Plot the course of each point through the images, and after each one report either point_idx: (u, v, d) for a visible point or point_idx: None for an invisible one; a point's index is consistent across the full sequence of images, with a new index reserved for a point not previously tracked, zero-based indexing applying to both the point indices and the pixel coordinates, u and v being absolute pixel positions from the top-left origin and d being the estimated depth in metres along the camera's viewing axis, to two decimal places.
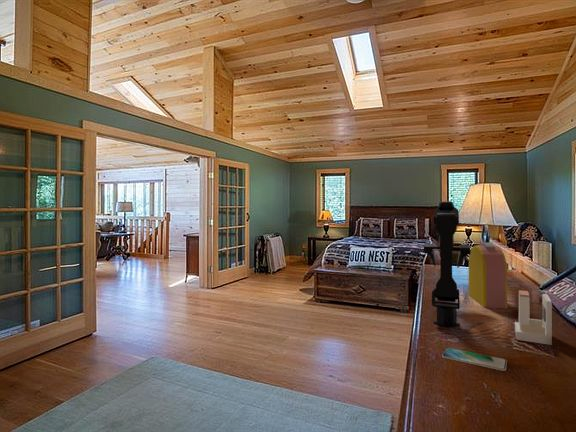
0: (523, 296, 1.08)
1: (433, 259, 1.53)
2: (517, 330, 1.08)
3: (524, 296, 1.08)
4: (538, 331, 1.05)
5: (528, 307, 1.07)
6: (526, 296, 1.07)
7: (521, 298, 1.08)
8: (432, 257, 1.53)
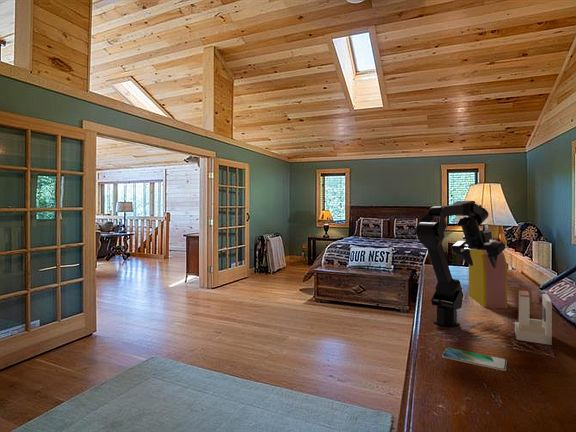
0: (523, 296, 1.08)
1: (465, 259, 1.38)
2: (517, 330, 1.08)
3: (524, 296, 1.08)
4: (538, 331, 1.05)
5: (528, 307, 1.07)
6: (526, 296, 1.07)
7: (521, 298, 1.08)
8: (462, 257, 1.38)
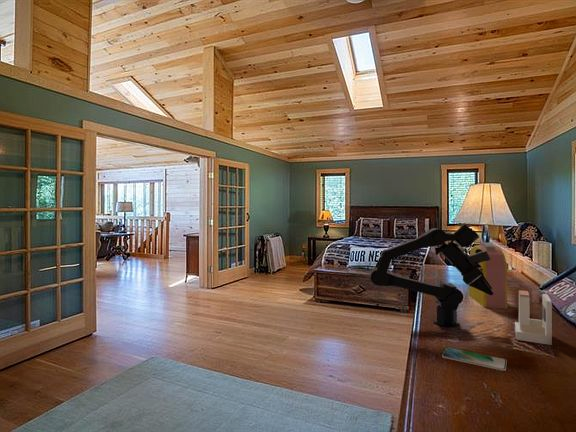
0: (523, 296, 1.08)
1: None
2: (517, 330, 1.08)
3: (524, 296, 1.08)
4: (538, 331, 1.05)
5: (528, 307, 1.07)
6: (526, 296, 1.07)
7: (521, 298, 1.08)
8: None
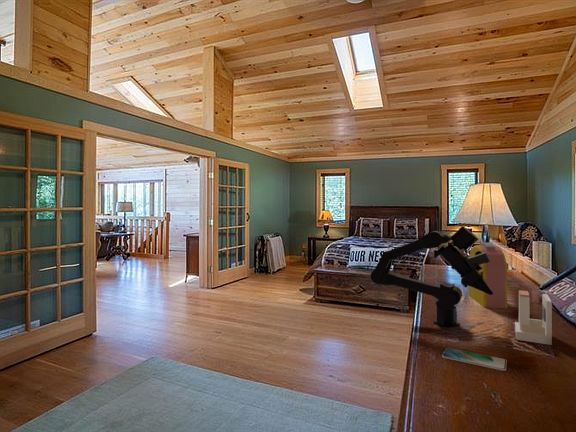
0: (523, 296, 1.08)
1: None
2: (517, 330, 1.08)
3: (524, 296, 1.08)
4: (538, 331, 1.05)
5: (528, 307, 1.07)
6: (526, 296, 1.07)
7: (521, 298, 1.08)
8: None
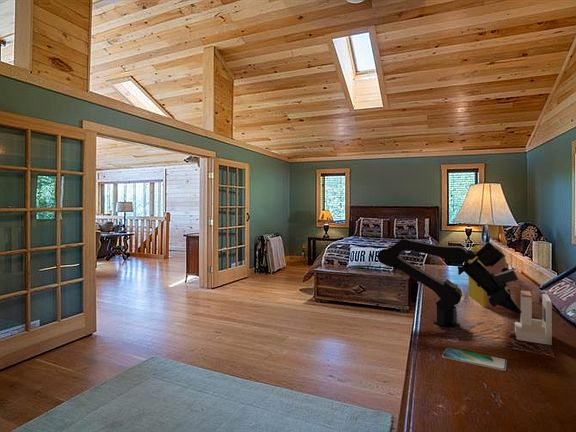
0: (525, 296, 1.08)
1: None
2: (517, 330, 1.08)
3: (526, 296, 1.07)
4: (538, 331, 1.05)
5: (530, 307, 1.07)
6: (528, 296, 1.07)
7: (523, 298, 1.08)
8: None
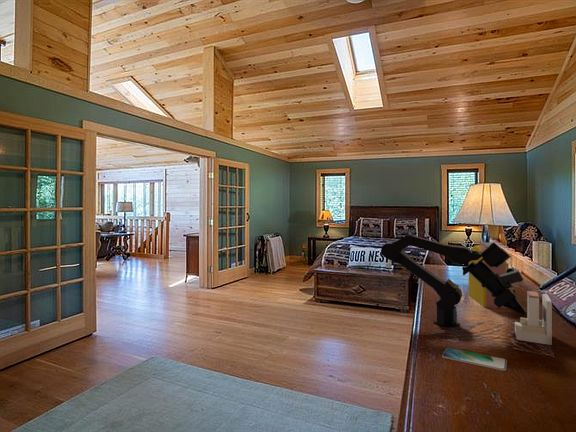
0: (532, 297, 1.07)
1: None
2: (517, 330, 1.08)
3: (533, 297, 1.06)
4: (538, 331, 1.05)
5: (538, 308, 1.06)
6: (535, 297, 1.06)
7: (530, 299, 1.07)
8: None
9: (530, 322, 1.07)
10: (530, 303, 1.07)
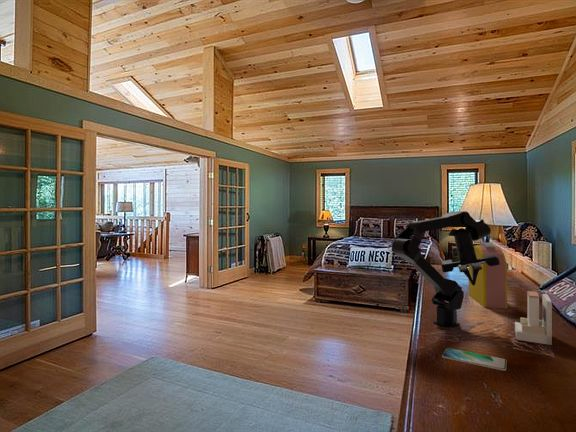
0: (532, 297, 1.07)
1: (469, 276, 1.25)
2: (517, 330, 1.08)
3: (533, 297, 1.06)
4: (538, 331, 1.05)
5: (538, 308, 1.06)
6: (535, 297, 1.06)
7: (530, 299, 1.07)
8: (467, 274, 1.24)
9: (530, 322, 1.07)
10: (530, 303, 1.07)
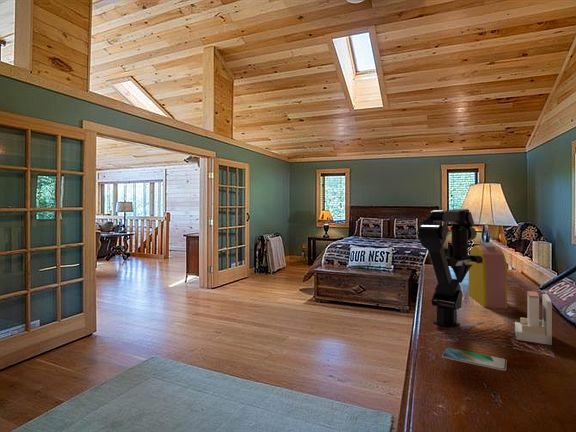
0: (532, 297, 1.07)
1: (462, 273, 1.29)
2: (517, 330, 1.08)
3: (533, 297, 1.06)
4: (538, 331, 1.05)
5: (538, 308, 1.06)
6: (535, 297, 1.06)
7: (530, 299, 1.07)
8: (462, 270, 1.29)
9: (530, 322, 1.07)
10: (530, 303, 1.07)
